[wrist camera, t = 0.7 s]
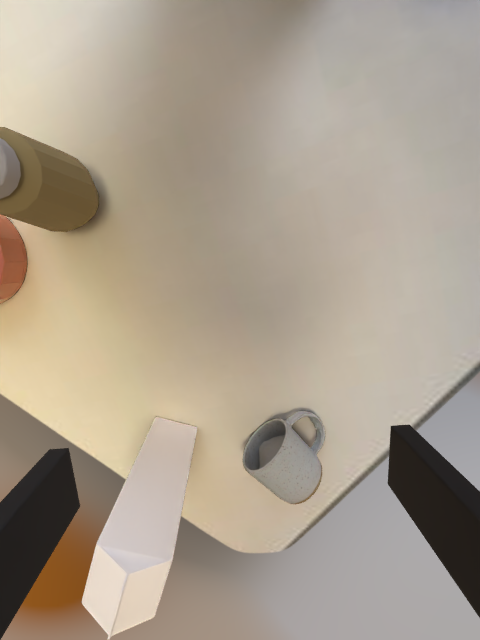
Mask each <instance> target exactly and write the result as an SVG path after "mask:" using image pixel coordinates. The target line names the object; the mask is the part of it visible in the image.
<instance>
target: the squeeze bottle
mask: <svg viewBox="0 0 480 640" xmlns="http://www.w3.org/2000/svg"><path fill="white" fill-rule="evenodd" d="M98 206H99V197H98V192H97V190H96V188H95V185H94V183H93V180H92V178H91V176H90V173H89V171H88V170H87V169H86V168H85V167H84V166H83V165H82V164H81V163H80V161H79V160H78V159H76V158H74V157H72V156H70V155H68V154H66V153H64V152H62V151H60V150H58V149H55V148H53V147H51V146H48V145H46V144H43V143H41V142H39V141H36V140H34V139H31V138H29V137H27V136H24V135H22V134H20V133H17V132H15V131H12V130H10V129H8V128H5V127H0V214H1V215H4V216H7V217H10V218H13V219H16V220H19V221H22V222H26V223H29V224H32V225H35V226H38V227H41V228H44V229H47V230H50V231H61V232H68V231H70V230H73V229H76V228H78V227H81V226H82V225H84V224H85V223H87V222H88V221H89V220H90V219H91V218H92V217H93V216H94V215H95V214H96V211H97V209H98Z"/></svg>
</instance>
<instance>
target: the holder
mask: <svg viewBox="0 0 480 640" xmlns="http://www.w3.org/2000/svg"><path fill="white" fill-rule="evenodd" d="M26 270H27V255H26V250H25V246H24V243H23V241H22V238H21V236H20V234H19V233H18V231H17V229H16V228H15V227H14V225H13V224H12V223H11V222H10V221H9V220H8V219H7V218H6V217H5V216H4V215H1V214H0V304H1V303H3V302H5V301H7V300H8V299H10V298H11V297H12V296H13V295H14V294H15V293H16V292H17V291H18V290H19V288H20V287H21V285H22V283H23V281H24V278H25V275H26Z"/></svg>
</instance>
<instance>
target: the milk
mask: <svg viewBox="0 0 480 640" xmlns="http://www.w3.org/2000/svg"><path fill="white" fill-rule="evenodd" d="M196 434H197V427H195V426H191V425H187V424H183V423H179V422H175V421H171V420H168V419H164V418H160V417H155V419H154V421H153V423H152V425H151V427H150V430H149V432H148V434H147V436H146V438H145V440H144V442H143V445H142V447H141V449H140V451H139V453H138V455H137V457H136V460H135V462H134V464H133V466H132V468H131V470H130V473H129V475H128V477H127V479H126V481H125V483H124V486H123V488H122V490H121V492H120V494H119V496H118V498H117V501H116V503H115V505H114V507H113V509H112V511H111V514H110V516H109V518H108V520H107V522H106V524H105V527H104V529H103V531H102V533H101V535H100V537H99V539H98V541H97V544H96V548H95V552H94V555H93V559H92V564H91V567H90V571H89V575H88V579H87V583H86V587H85V591H84V595H83V598H82V604H83V605H84V607H85V608H86V609H87V610H88V611H89V613H90V614H91V615H92V616H93V617H94V619H95V620H96V621H97V622H98V623H99V624H100V626H101V627H102V628H103V629H104V630H105V632H106V633H107V634H108V639H107V640H110V637H111V636H112V635H114V634H117V633H119V632H122V631H124V630H126V629H129V628H131V627H133V626H135V625H138V624H140V623H142V622H144V621H147V620H149V619H152V618H153V617H154V616H155V613H156V610H157V607H158V604H159V601H160V598H161V595H162V592H163V588H164V585H165V582H166V579H167V575H168V573H169V570H170V566H171V563H172V560H173V554H174V550H175V545H176V539H177V533H178V529H179V523H180V518H181V513H182V508H183V502H184V497H185V492H186V487H187V481H188V476H189V471H190V465H191V460H192V455H193V450H194V444H195V439H196Z"/></svg>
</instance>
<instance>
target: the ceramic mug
mask: <svg viewBox="0 0 480 640" xmlns="http://www.w3.org/2000/svg"><path fill="white" fill-rule="evenodd" d="M302 417H309V418H310V419H311V420H312V422H313V423H314V425H315V428H316V429H317V436H316V439H315V442H314V443H313V445H312V447H311V448H310V447H309V446H308V445H307V444H306V443H305V442H304V441H303V440H302V439H301V437H300V436H299V435H298V434H297V433H296V432H295V431H294V430H293V429H292V425H293V424H294V423H295V422H296V421H298V420H299V419H301V418H302ZM324 440H325V429H324V426H323V423H322V422H321V420H320V419H319V418H318V417H317V416H316V415H315V414H313V413H310V412H307V411H299V412H296V413H294V414H293V415H292V416H290V417H289V418H288V419H287V420H286V421H285V420H283V419H273V420H270V421H268V422H266V423H265V424H263V425H262V426H261V427H260V428H258V429H257V430H256V431H255V433H254V434H253V435H252V436H251V438H250V440H249V441H248V443H247V445H246V447H245V450H244V454H243V465H244V468H245V470H246V471H247V472H248V473H249V474H250V475H252V476H253V477H254V478H256V479H257V480H258V481H259V482H260V483H262V484H263V485H264V486H265V487H267V488H268V489H269V490H270V491H272V492H273V493H274V494H275V495H276V496H277V497H279V498H280V499H282V500H284V501H286V502H288V503H291V504H300V503H302V502H305V501H306V500H308V499H309V498H310V497H311V496H312V495H313V494H314V493H315V492H316V490H317V489H318V487H319V484H320V482H321V477H322V466H321V463H320V461H319V459H318V457H317V453H318V452H319V450H320V449H321V447H322V445H323V443H324Z"/></svg>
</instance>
